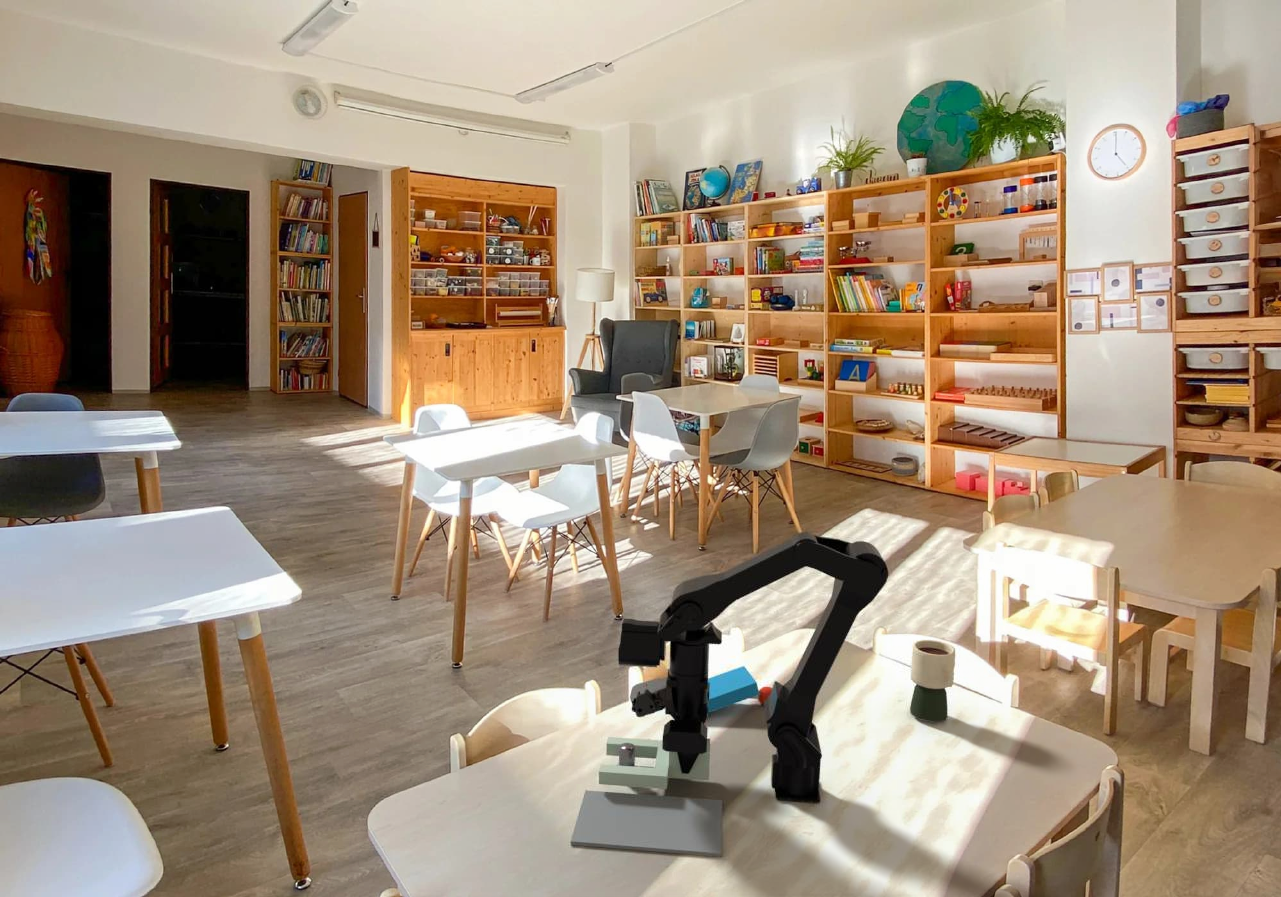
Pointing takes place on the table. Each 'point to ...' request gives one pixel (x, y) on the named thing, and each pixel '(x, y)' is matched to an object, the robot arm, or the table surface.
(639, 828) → the mat
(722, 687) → the lever
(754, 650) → the table surface
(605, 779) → the c link
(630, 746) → the grey metal rod
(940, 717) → the cream and green cup
